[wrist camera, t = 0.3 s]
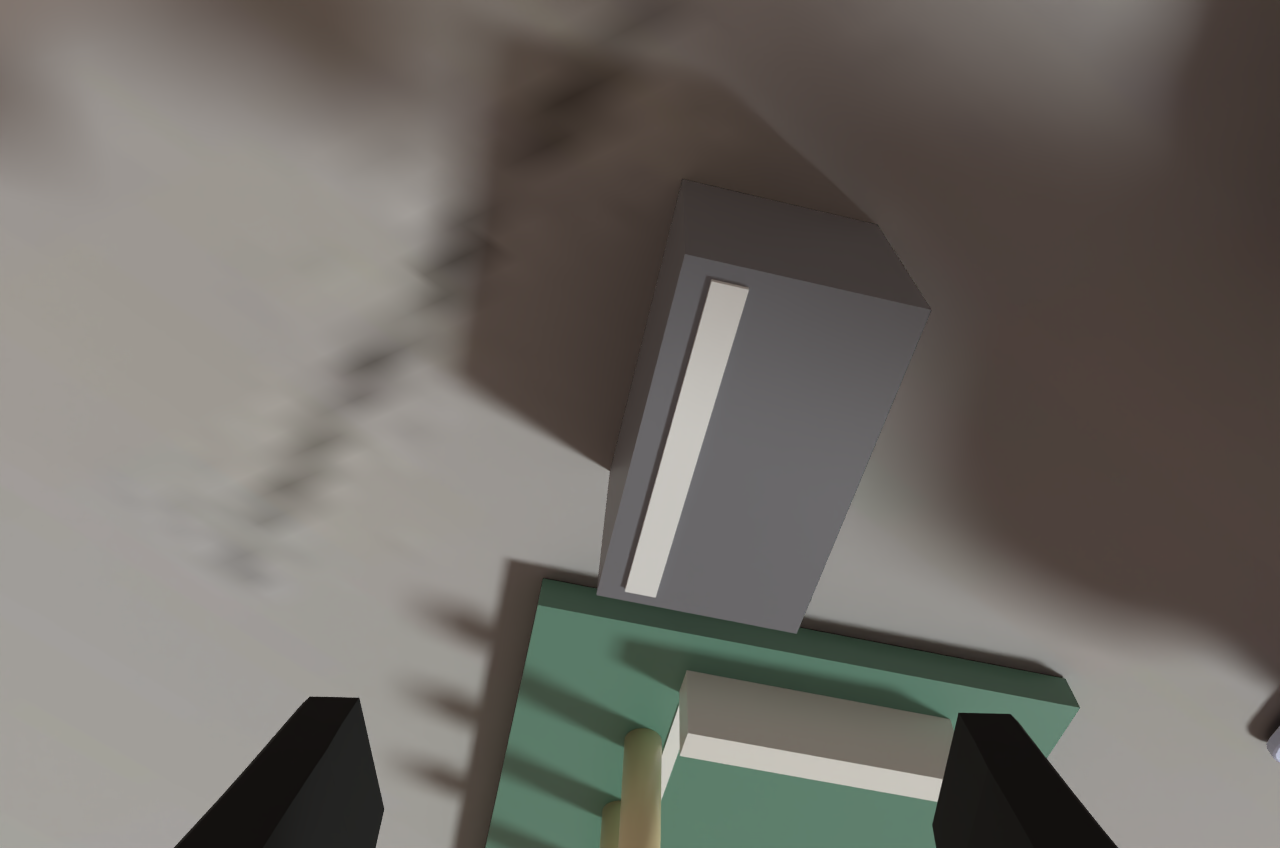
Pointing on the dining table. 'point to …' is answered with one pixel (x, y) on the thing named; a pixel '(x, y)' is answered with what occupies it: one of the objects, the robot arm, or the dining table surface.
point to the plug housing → (753, 406)
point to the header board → (736, 732)
